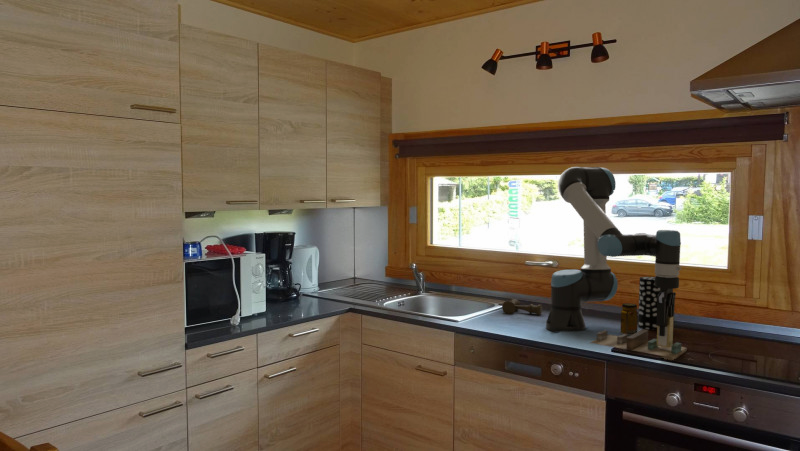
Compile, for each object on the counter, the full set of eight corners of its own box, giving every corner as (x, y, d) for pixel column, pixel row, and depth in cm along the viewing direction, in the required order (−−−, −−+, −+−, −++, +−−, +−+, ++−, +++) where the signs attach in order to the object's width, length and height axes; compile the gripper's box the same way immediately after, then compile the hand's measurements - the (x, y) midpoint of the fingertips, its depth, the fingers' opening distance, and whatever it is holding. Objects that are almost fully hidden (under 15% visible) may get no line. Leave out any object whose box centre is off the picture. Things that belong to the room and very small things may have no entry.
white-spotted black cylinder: (662, 326, 236) (663, 277, 235) (658, 330, 229) (660, 280, 228) (640, 323, 240) (641, 276, 239) (636, 327, 234) (637, 278, 232)
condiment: (616, 332, 226) (617, 302, 225) (639, 333, 225) (640, 302, 224) (623, 337, 218) (623, 306, 218) (645, 337, 218) (646, 306, 217)
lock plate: (589, 345, 207) (589, 331, 206) (606, 336, 219) (607, 323, 219) (673, 360, 189) (673, 345, 188) (686, 350, 201) (687, 336, 200)
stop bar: (656, 345, 197) (657, 316, 197) (660, 343, 201) (661, 314, 200) (668, 347, 195) (670, 318, 194) (672, 345, 198) (673, 316, 197)
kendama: (538, 318, 253) (494, 312, 262) (543, 315, 261) (501, 309, 271) (538, 305, 252) (495, 299, 262) (544, 301, 261) (502, 296, 270)
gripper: (671, 279, 187) (668, 350, 189) (685, 274, 200) (683, 340, 202) (647, 277, 192) (644, 346, 194) (663, 272, 205) (660, 337, 207)
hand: (664, 343), depth 198 cm, fingers closed on stop bar, 4 cm apart
